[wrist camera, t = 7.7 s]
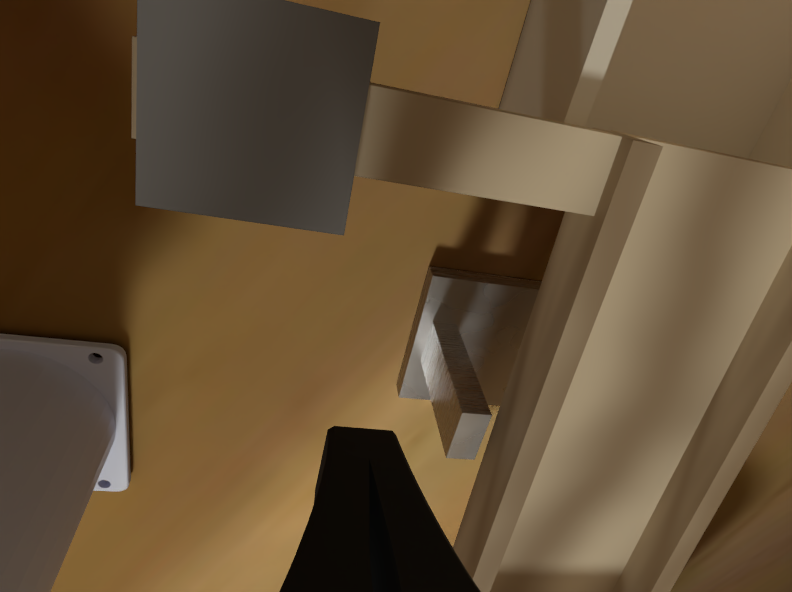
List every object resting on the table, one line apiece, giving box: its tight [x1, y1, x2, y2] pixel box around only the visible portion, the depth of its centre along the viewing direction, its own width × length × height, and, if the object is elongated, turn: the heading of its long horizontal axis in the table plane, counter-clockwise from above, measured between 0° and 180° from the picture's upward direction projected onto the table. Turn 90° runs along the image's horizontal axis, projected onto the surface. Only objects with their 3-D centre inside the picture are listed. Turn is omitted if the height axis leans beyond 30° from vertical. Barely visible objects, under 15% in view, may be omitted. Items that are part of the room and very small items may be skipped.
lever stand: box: [397, 266, 542, 459], centre depth 21 cm, size 12×6×6 cm, turn 78°
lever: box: [131, 0, 792, 592], centre depth 17 cm, size 19×21×3 cm
